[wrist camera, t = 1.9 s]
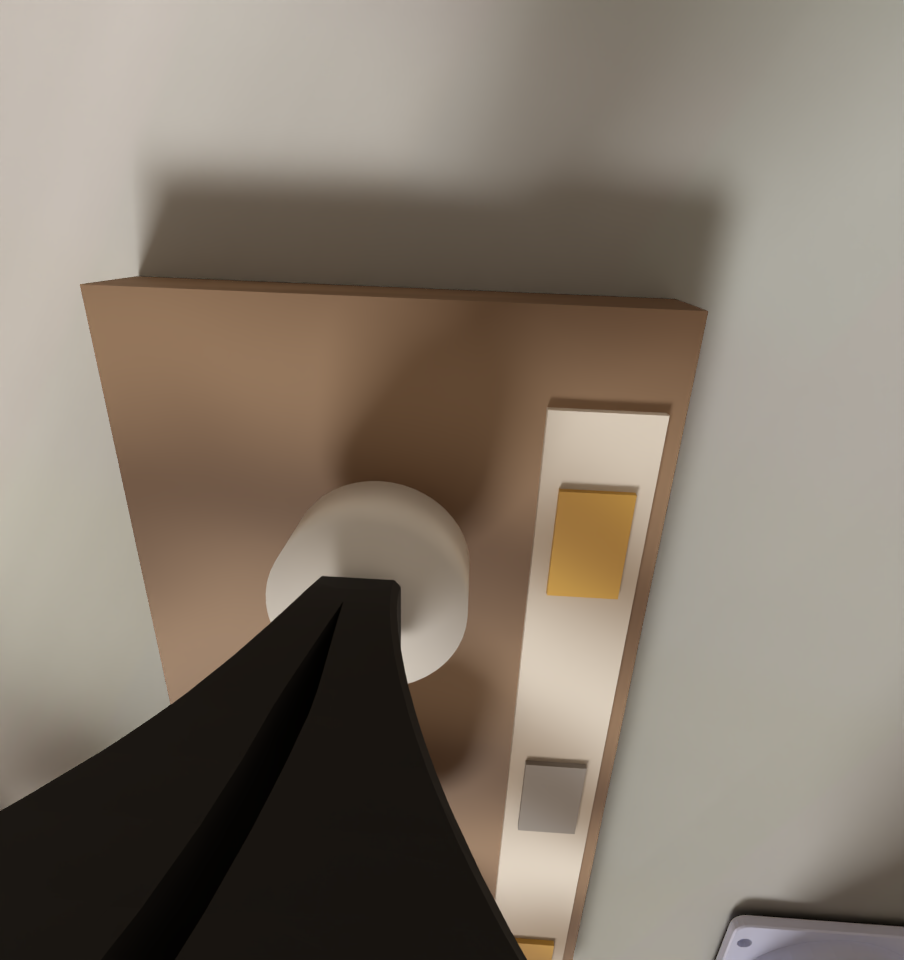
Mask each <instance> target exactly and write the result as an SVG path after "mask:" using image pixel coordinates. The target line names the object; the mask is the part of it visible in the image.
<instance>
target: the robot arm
mask: <svg viewBox="0 0 904 960" xmlns="http://www.w3.org/2000/svg"><path fill="white" fill-rule="evenodd" d="M0 960H527V959H526V957H525V955H524V953H523V951H522V950H521V948H520V946H519V944H518V943H517V941H516V939H515V937H514V935H513V934H512V932H511V930H510V928H509V926H508V924H507V923H506V921H505V919H504V917H503V915H502V913H501V911H500V909H499V907H498V905H497V903H496V902H495V900H494V898H493V896H492V894H491V892H490V890H489V888H488V886H487V884H486V882H485V880H484V879H483V877H482V875H481V872H480V870H479V868H478V866H477V864H476V862H475V860H474V857H473V855H472V853H471V851H470V849H469V847H468V844H467V842H466V840H465V838H464V836H463V834H462V832H461V829H460V827H459V825H458V823H457V821H456V819H455V817H454V814H453V812H452V810H451V808H450V806H449V803H448V801H447V798H446V796H445V793H444V791H443V788H442V786H441V783H440V781H439V778H438V776H437V773H436V771H435V768H434V765H433V763H432V760H431V757H430V754H429V752H428V749H427V746H426V743H425V740H424V737H423V734H422V731H421V728H420V725H419V722H418V718H417V715H416V712H415V708H414V705H413V701H412V697H411V694H410V690H409V686H408V682H407V678H406V673H405V668H404V663H403V658H402V652H401V586H400V585H399V584H398V583H397V582H396V581H395V580H385V579H367V578H350V577H332V576H321V577H320V578H319V579H318V580H316V581H315V582H314V583H313V584H312V585H311V586H310V587H309V588H307V589H306V590H305V591H304V592H303V593H302V594H301V595H300V596H299V597H298V598H297V599H296V600H295V601H294V602H292V603H291V604H290V605H289V606H288V607H287V608H286V609H285V610H284V611H283V612H282V613H281V614H279V615H278V616H277V617H276V618H275V619H274V620H273V621H272V622H271V623H270V624H269V625H267V626H266V627H265V628H264V629H263V630H262V631H261V632H259V633H258V634H257V635H256V636H255V637H254V638H253V639H252V640H250V641H249V642H248V643H247V644H246V645H245V646H244V647H242V648H241V649H240V650H239V651H238V652H237V653H235V654H234V655H233V656H232V657H231V658H230V659H228V660H227V661H226V662H225V663H223V664H222V665H221V666H220V667H218V668H217V669H216V670H215V671H213V672H212V673H211V674H210V675H208V676H207V677H206V678H205V679H203V680H202V681H201V682H200V683H198V684H197V685H196V686H195V687H193V688H192V689H191V690H190V691H188V692H187V693H186V694H184V695H183V696H182V697H180V698H179V699H178V700H176V701H175V702H174V703H172V704H171V705H169V706H168V707H167V708H165V709H164V710H162V711H161V712H160V713H158V714H157V715H155V716H154V717H153V718H151V719H150V720H148V721H147V722H145V723H144V724H142V725H141V726H139V727H138V728H136V729H135V730H133V731H132V732H130V733H129V734H127V735H126V736H124V737H123V738H121V739H120V740H118V741H117V742H115V743H114V744H112V745H111V746H109V747H108V748H106V749H104V750H103V751H101V752H100V753H98V754H96V755H95V756H93V757H91V758H90V759H88V760H86V761H85V762H83V763H81V764H80V765H78V766H76V767H75V768H73V769H71V770H70V771H68V772H66V773H64V774H63V775H61V776H59V777H58V778H56V779H54V780H53V781H51V782H49V783H48V784H46V785H44V786H43V787H41V788H39V789H38V790H36V791H34V792H33V793H31V794H29V795H28V796H26V797H24V798H23V799H21V800H19V801H17V802H15V803H14V804H12V805H10V806H8V807H7V808H5V809H3V810H1V811H0ZM716 960H904V927H902V926H888V925H875V924H861V923H848V922H834V921H821V920H807V919H793V918H780V917H766V916H753V915H740V916H737V917H735V918H733V919H732V921H731V922H730V924H729V927H728V929H727V932H726V934H725V937H724V940H723V942H722V945H721V947H720V950H719V953H718V955H717V958H716Z"/></svg>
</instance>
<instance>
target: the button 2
mask: <svg viewBox="0 0 904 960" xmlns="http://www.w3.org/2000/svg"><path fill="white" fill-rule="evenodd" d="M321 576H332V577H350V578H367V579H385V580H395V581H396V582H397V583H398V584H399V585H400V586H401V652H402V658H403V663H404V668H405V673H406V678H407V682H408V683H412V682H415V681H417V680H420V679H422V678H424V677H426V676H428V675H430V674H431V673H433V672H434V671H436V670H437V669H439V668H440V667H441V666H442V665H444V664H445V663H446V662H447V661H448V659H449V658H450V657H451V656H452V655H453V654H454V652H455V651H456V649H457V648H458V646H459V644H460V642H461V640H462V638H463V635H464V632H465V629H466V624H467V617H468V593H469V553H468V547H467V544H466V541H465V538H464V536H463V533H462V531H461V529H460V527H459V526H458V524H457V523H456V522H455V520H454V519H453V517H452V516H451V515H450V514H449V513H448V512H447V511H446V510H445V509H444V508H443V507H442V506H441V505H440V504H439V503H437V502H436V501H435V500H433V499H432V498H430V497H429V496H427V495H425V494H423V493H421V492H419V491H417V490H415V489H413V488H410V487H407V486H404V485H401V484H396V483H392V482H383V481H365V482H357V483H352V484H349V485H345V486H342V487H339V488H337V489H335V490H332V491H331V492H329V493H327V494H326V495H324V496H322V497H321V498H320V499H319V500H317V501H316V502H315V503H314V504H313V505H312V506H311V507H310V508H309V509H308V510H307V512H306V513H305V515H304V516H303V517H302V519H301V520H300V522H299V524H298V525H297V527H296V529H295V530H294V532H293V533H292V535H291V537H290V538H289V540H288V541H287V543H286V545H285V546H284V548H283V549H282V551H281V553H280V554H279V556H278V557H277V559H276V561H275V562H274V565H273V567H272V569H271V571H270V574H269V577H268V580H267V586H266V607H267V612H268V616H269V619H270V622H272V621H273V620H274V619H275V618H276V617H277V616H278V615H279V614H281V613H282V612H283V611H284V610H285V609H286V608H287V607H288V606H289V605H290V604H291V603H292V602H294V601H295V600H296V599H297V598H298V597H299V596H300V595H301V594H302V593H303V592H304V591H305V590H306V589H307V588H309V587H310V586H311V585H312V584H313V583H314V582H315V581H316V580H318V579H319V578H320V577H321Z"/></svg>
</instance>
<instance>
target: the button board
mask: <svg viewBox="0 0 904 960" xmlns="http://www.w3.org/2000/svg"><path fill="white" fill-rule="evenodd" d="M80 287H81V292H82V296H83V301H84V305H85V310H86V315H87V319H88V324H89V329H90V333H91V338H92V343H93V347H94V352H95V356H96V361H97V366H98V370H99V375H100V380H101V384H102V389H103V393H104V398H105V403H106V407H107V412H108V417H109V421H110V426H111V431H112V435H113V440H114V444H115V449H116V454H117V458H118V463H119V468H120V472H121V477H122V481H123V486H124V491H125V495H126V500H127V505H128V509H129V514H130V519H131V523H132V528H133V532H134V537H135V542H136V546H137V551H138V556H139V560H140V565H141V569H142V574H143V579H144V583H145V588H146V593H147V597H148V602H149V607H150V611H151V616H152V620H153V625H154V630H155V634H156V639H157V644H158V648H159V653H160V657H161V662H162V667H163V671H164V676H165V681H166V685H167V690H168V695H169V699H170V704H172V703H174V702H175V701H176V700H178V699H179V698H180V697H182V696H183V695H184V694H186V693H187V692H188V691H190V690H191V689H192V688H193V687H195V686H196V685H197V684H198V683H200V682H201V681H202V680H203V679H205V678H206V677H207V676H208V675H210V674H211V673H212V672H213V671H215V670H216V669H217V668H218V667H220V666H221V665H222V664H223V663H225V662H226V661H227V660H228V659H230V658H231V657H232V656H233V655H234V654H235V653H237V652H238V651H239V650H240V649H241V648H242V647H244V646H245V645H246V644H247V643H248V642H249V641H250V640H252V639H253V638H254V637H255V636H256V635H257V634H258V633H259V632H261V631H262V630H263V629H264V628H265V627H266V626H267V625H269V624H270V623H271V622H270V619H269V616H268V612H267V607H266V586H267V580H268V577H269V574H270V571H271V569H272V567H273V565H274V562H275V561H276V559H277V557H278V556H279V554H280V553H281V551H282V549H283V548H284V546H285V545H286V543H287V541H288V540H289V538H290V537H291V535H292V533H293V532H294V530H295V529H296V527H297V525H298V524H299V522H300V520H301V519H302V517H303V516H304V515H305V513H306V512H307V510H308V509H309V508H310V507H311V506H312V505H313V504H314V503H315V502H316V501H317V500H319V499H320V498H321V497H322V496H324V495H326V494H327V493H329V492H331V491H332V490H335V489H337V488H339V487H342V486H345V485H349V484H352V483H357V482H365V481H383V482H392V483H396V484H401V485H404V486H407V487H410V488H413V489H415V490H417V491H419V492H421V493H423V494H425V495H427V496H429V497H430V498H432V499H433V500H435V501H436V502H437V503H439V504H440V505H441V506H442V507H443V508H444V509H445V510H446V511H447V512H448V513H449V514H450V515H451V516H452V517H453V519H454V520H455V522H456V523H457V524H458V526H459V527H460V529H461V531H462V533H463V536H464V538H465V541H466V544H467V547H468V553H469V593H468V617H467V624H466V629H465V632H464V635H463V638H462V640H461V642H460V644H459V646H458V648H457V649H456V651H455V652H454V654H453V655H452V656H451V657H450V658H449V659H448V661H447V662H446V663H445V664H444V665H442V666H441V667H440V668H439V669H437V670H436V671H434V672H433V673H431V674H430V675H428V676H426V677H424V678H422V679H420V680H417V681H415V682H412V683H408V686H409V690H410V694H411V697H412V701H413V705H414V708H415V712H416V715H417V718H418V722H419V725H420V728H421V731H422V734H423V737H424V740H425V743H426V746H427V749H428V752H429V754H430V757H431V760H432V763H433V765H434V768H435V771H436V773H437V776H438V778H439V781H440V783H441V786H442V788H443V791H444V793H445V796H446V798H447V801H448V803H449V806H450V808H451V810H452V812H453V814H454V817H455V819H456V821H457V823H458V825H459V827H460V829H461V832H462V834H463V836H464V838H465V840H466V842H467V844H468V847H469V849H470V851H471V853H472V855H473V857H474V860H475V862H476V864H477V866H478V868H479V870H480V872H481V875H482V877H483V879H484V880H485V882H486V884H487V886H488V888H489V890H490V892H491V894H492V896H493V898H494V900H495V902H496V903H497V905H498V907H499V909H500V911H501V913H502V915H503V917H504V919H505V921H506V923H507V924H508V926H509V928H510V930H511V932H512V934H513V935H514V937H515V939H516V941H517V943H518V944H519V946H520V948H521V950H522V951H523V953H524V955H525V957H526V959H527V960H573V955H574V950H575V945H576V940H577V936H578V931H579V926H580V921H581V917H582V912H583V907H584V902H585V897H586V893H587V888H588V883H589V878H590V874H591V869H592V864H593V859H594V854H595V850H596V845H597V840H598V835H599V831H600V826H601V821H602V816H603V811H604V807H605V802H606V797H607V792H608V788H609V783H610V778H611V773H612V769H613V764H614V759H615V754H616V749H617V745H618V740H619V735H620V730H621V726H622V721H623V716H624V711H625V706H626V702H627V697H628V692H629V687H630V683H631V678H632V673H633V668H634V663H635V659H636V654H637V649H638V644H639V640H640V635H641V630H642V625H643V620H644V616H645V611H646V606H647V601H648V597H649V592H650V587H651V582H652V578H653V573H654V568H655V563H656V558H657V554H658V549H659V544H660V539H661V535H662V530H663V525H664V520H665V515H666V511H667V506H668V501H669V496H670V492H671V487H672V482H673V477H674V472H675V468H676V463H677V458H678V453H679V449H680V444H681V439H682V434H683V429H684V425H685V420H686V415H687V410H688V406H689V401H690V396H691V391H692V387H693V382H694V377H695V372H696V367H697V363H698V358H699V353H700V348H701V344H702V339H703V334H704V329H705V324H706V320H707V315H708V311H706V310H704V309H701V308H698V307H696V306H693V305H690V304H687V303H685V302H682V301H679V300H677V299H662V298H639V297H615V296H591V295H567V294H544V293H520V292H496V291H472V290H449V289H425V288H401V287H377V286H354V285H330V284H306V283H282V282H259V281H235V280H211V279H187V278H164V277H140V276H136V277H129V278H122V279H115V280H108V281H100V282H93V283H86V284H80Z"/></svg>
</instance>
